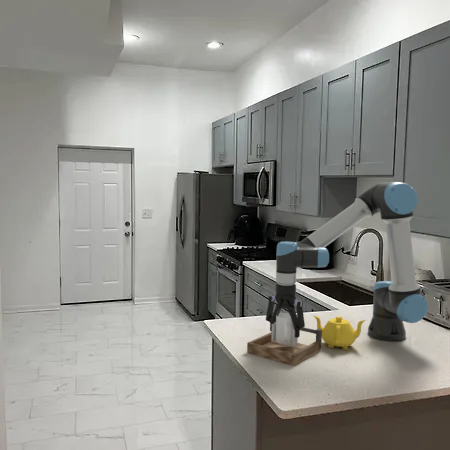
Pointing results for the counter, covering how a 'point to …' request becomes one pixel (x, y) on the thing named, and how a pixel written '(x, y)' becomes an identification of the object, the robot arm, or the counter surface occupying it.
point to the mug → (284, 329)
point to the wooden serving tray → (285, 348)
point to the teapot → (339, 332)
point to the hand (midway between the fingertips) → (284, 342)
